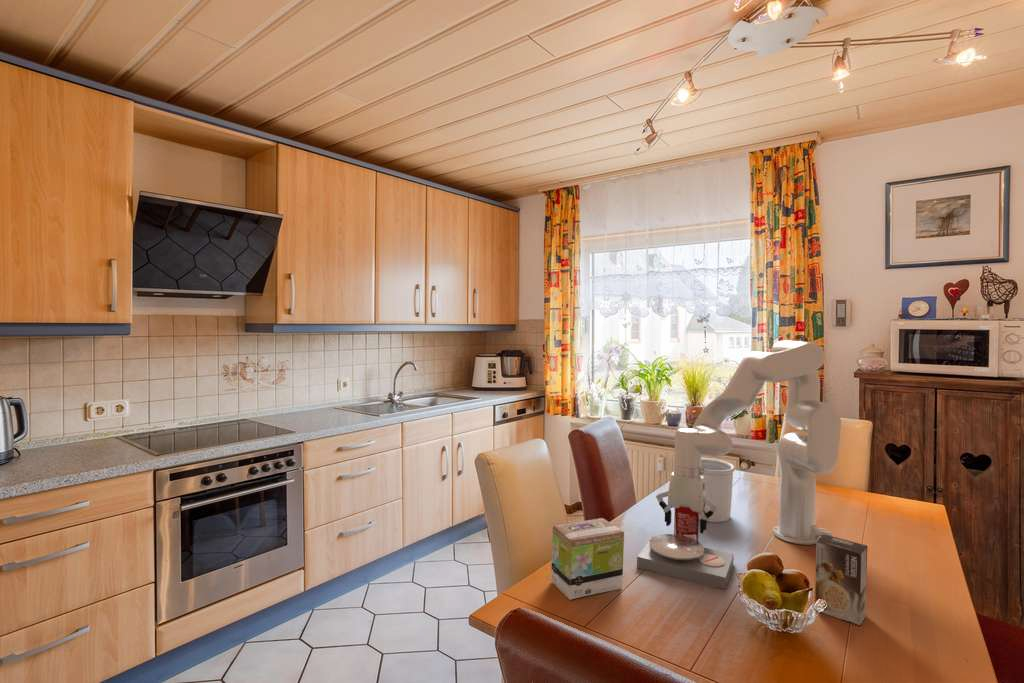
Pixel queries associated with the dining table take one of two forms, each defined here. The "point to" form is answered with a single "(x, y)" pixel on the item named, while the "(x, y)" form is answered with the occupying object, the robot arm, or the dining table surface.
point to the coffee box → (841, 578)
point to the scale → (690, 566)
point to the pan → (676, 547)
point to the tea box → (587, 557)
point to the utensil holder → (718, 487)
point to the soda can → (686, 522)
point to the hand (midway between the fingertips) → (685, 528)
